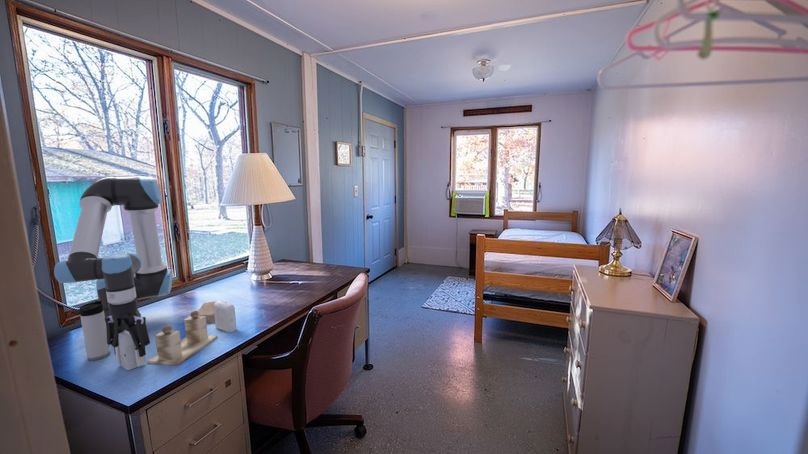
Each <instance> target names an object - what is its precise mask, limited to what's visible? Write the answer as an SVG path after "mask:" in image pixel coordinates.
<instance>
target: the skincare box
mask: <svg viewBox="0 0 808 454" xmlns="http://www.w3.org/2000/svg"><path fill="white" fill-rule="evenodd" d="M118 341H119V350H120V358H121V365H120V366H121V367H122V368H123V369H125V370H126V371H130V370H133V369H136V368H138V367H137V363H136V356H135V348H136V345H135V343H134V341H133V339H132V337H131V335H130V333H129V331H127V330H126V329H124V331H123V332H121V333H119V334H118Z"/></svg>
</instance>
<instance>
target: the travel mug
mask: <svg viewBox="0 0 808 454" xmlns="http://www.w3.org/2000/svg"><path fill="white" fill-rule="evenodd" d="M78 309H79V316H80V323H81V328H82V333H83V340H84V345H85V351H86V357H87V360H88V361H98V360H100V359H101V360H102V359H104V358H107V357H108V356H109V355H110V354H111V348H110V345H108V344H107V330H106V322H105V315H104V310H103V304H102V302H101V301H99V300H95V301H92V302H88V303H84V304H82V305H81V306H80V307H79V308H78Z"/></svg>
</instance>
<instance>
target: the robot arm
mask: <svg viewBox="0 0 808 454" xmlns="http://www.w3.org/2000/svg"><path fill="white" fill-rule="evenodd" d="M161 203H162V193H161V190H160V186H159V184H158V182H157V180H156V179H155V178H153V177H151V176H120V177H119V176H117V177H115V176H109V177H103V178H101V179H98V180H96V181H95V182H93V183H92V184H90V185H89V186H88V187H87V188H86V189H85V190H84V191H83V192H82V194H81V195H80V199H79V201H78V205H79V207H80V208H81V209H80V212H79V215H78V216H79V217H78V219H77V224H76V226H75V227H76V228H75V232H74V234H73V235H74V236H73V238H72V242H71V246H70V250H69V253H68V257H67V260H63V261H58V262H56V264H55V265H54V269H53V270H54V271H53V272H54V274H53V275H54V278H55V279H56V281H57V282H59V283H60V284H70V283H71V284H72V283H75V284H76V283H79V282H80V283H81V282H89V281H95V280H96V281H95V284H96V288H95V290H96V292H97V299H98V300H97V301H101V302H102V304H103V310H104V315H105V322H106V330H107V344H108V345H109V346H110V345H111V347H112V348H113V351H114V355H115V358H116V364H117V366H122V365H121V358H120V350H119V341H118V334H119V333H121V332H123V331H125V330H127V331H129V333H130V335H131V337H132V339H133V341H134V343H135V345H136V348H135V356H136V363H137V367H136V368H139V367H142V366H143V365H145V364H146V363H147V361H146V355H147V353H146V351H147V350H146V346H148V345H150V344H151V339H150V336H149V332H148V328H147V324H146V321H147V318H146V316H142V314H141V313H140V310H139V305H138V300H142V299H143V300H144V299H152V298H159V297H163V296H168V295H169V294H170V293H171V291H172V287H173V285H172V284H173V269H170V268H168V267H167V264H165V263H164V262H163V260H162V253H161V252H162V251H161V245H160V240H159V231H158V227H157V225H158V224H157V219H156V211H157V209H158V208H159V205H160V204H161ZM114 206H123V208H124V209H123V210H124V211H125V212H126V213H129V216H130V218H129V219H130V224H131V231H132V235H133V242H134V247H135V253H132V252H130V253H129V252H128V253H119V254H112V255H108V256H107V255H106V256H105V257H98V256H99V252H100V248H101V243H102V239H103V234H104V228H105V224H106V219H107V215H108V213H109V212H110V211H112V208H113V207H114Z"/></svg>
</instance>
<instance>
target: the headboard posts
mask: <svg viewBox="0 0 808 454" xmlns="http://www.w3.org/2000/svg"><path fill="white" fill-rule="evenodd" d="M198 315H199V313H198V310H193V311H191V313H190V316H187V318H184V319H183V320H184V321H183V322H184V330H185V337H184V338H182V339H181V333H180V330H172V329H173V328H172V326H171V325H169V324H168V325H164V326H163V327H162V329H161V331H160V332H158V333H157V334H155V335H154V336H155V337H154V339H155V344H156V350H157V351H156V352H157V353H156V355H154V356H153V357H150V359H148V360H147V361H146V363H147V364H154V365H155V364H157V365H166V366H179V365H181V364H182V363H184V362H186V361H187V360H188V359H190V358H191V357H192V356H194V355H196V353H199V352H200V351H201V350H202V349H204V348H205V347H207V346H208V345H210V344H211V343H212V342H214V341H215V340H217V339H218V335H208V334H209V333H208V326H207V325H208V323H206V316H198ZM186 359H187V360H186Z"/></svg>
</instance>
